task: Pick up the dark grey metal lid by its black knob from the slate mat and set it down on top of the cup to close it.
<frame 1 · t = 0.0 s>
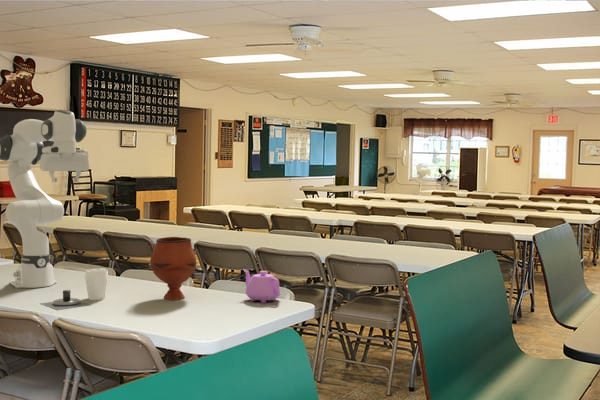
hand: (65, 182, 294), 48 cm above the table, fingers open, 8 cm apart
teapot: (261, 300, 291), on the table
mat: (65, 305, 277), on the table
lid: (66, 303, 278), resting on mat
cup: (96, 299, 290), on the table
goblet: (173, 298, 293), on the table
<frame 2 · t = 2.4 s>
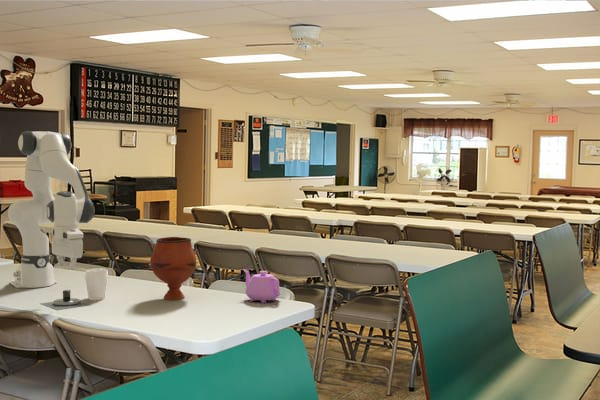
hand: (66, 267, 277), 15 cm above the table, fingers open, 8 cm apart
nothing on the table moved.
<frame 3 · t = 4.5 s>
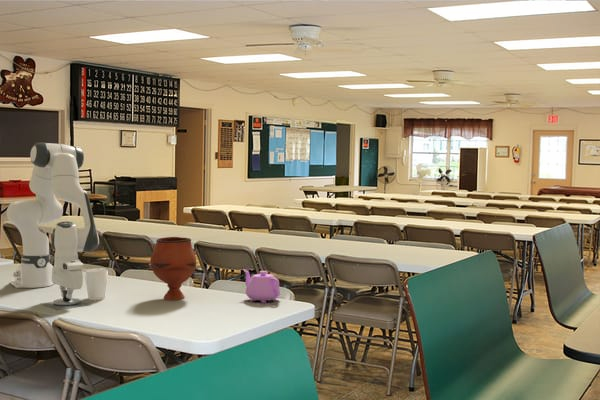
hand: (66, 297, 278), 3 cm above the table, fingers closed on lid, 3 cm apart
lid: (66, 303, 278), resting on mat, touching gripper
everything else where it was.
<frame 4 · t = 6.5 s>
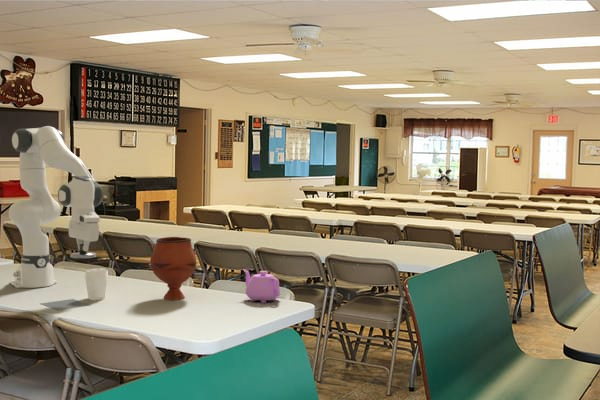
hand: (83, 250, 284), 21 cm above the table, fingers closed on lid, 3 cm apart
lid: (83, 256, 284), point 18 cm above the table, touching gripper
everything else where it was.
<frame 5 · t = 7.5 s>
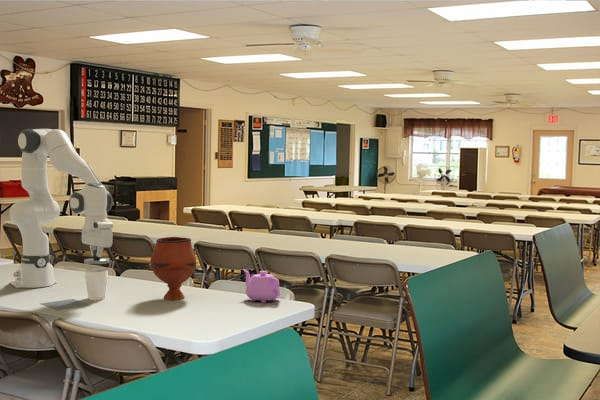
hand: (96, 256, 288), 18 cm above the table, fingers closed on lid, 3 cm apart
lid: (96, 262, 289), point 15 cm above the table, touching gripper
everything else where it was.
when the fingers open (16 cm above the table, at t = 8.4 s): lid drops 1 cm, resting on cup.
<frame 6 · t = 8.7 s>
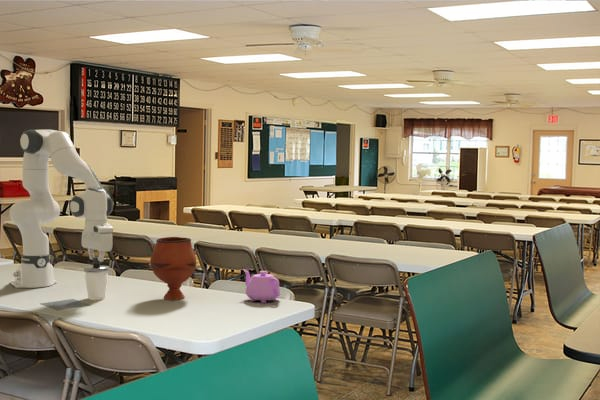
hand: (96, 260, 289), 16 cm above the table, fingers open, 6 cm apart
lid: (96, 270, 289), point 12 cm above the table, touching cup
cup: (96, 299, 290), on the table, touching lid
everything else where it was.
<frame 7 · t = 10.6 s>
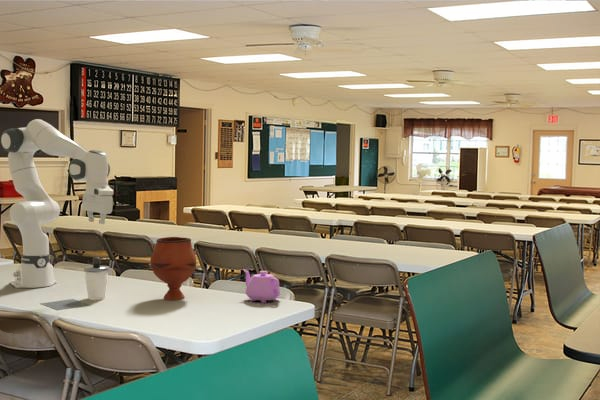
hand: (96, 222, 292), 31 cm above the table, fingers open, 8 cm apart
nothing on the table moved.
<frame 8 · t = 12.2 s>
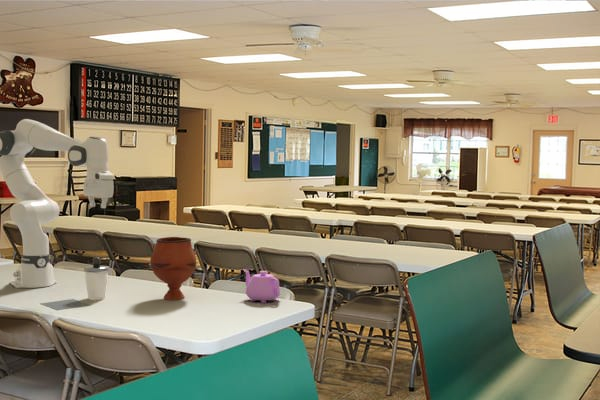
hand: (98, 207, 299), 37 cm above the table, fingers open, 8 cm apart
nothing on the table moved.
at the end: lid 0.0 cm off-centre in the cup, point 12.2 cm above the cup's base; lid tilted 0°; the gripper is holding nothing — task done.
